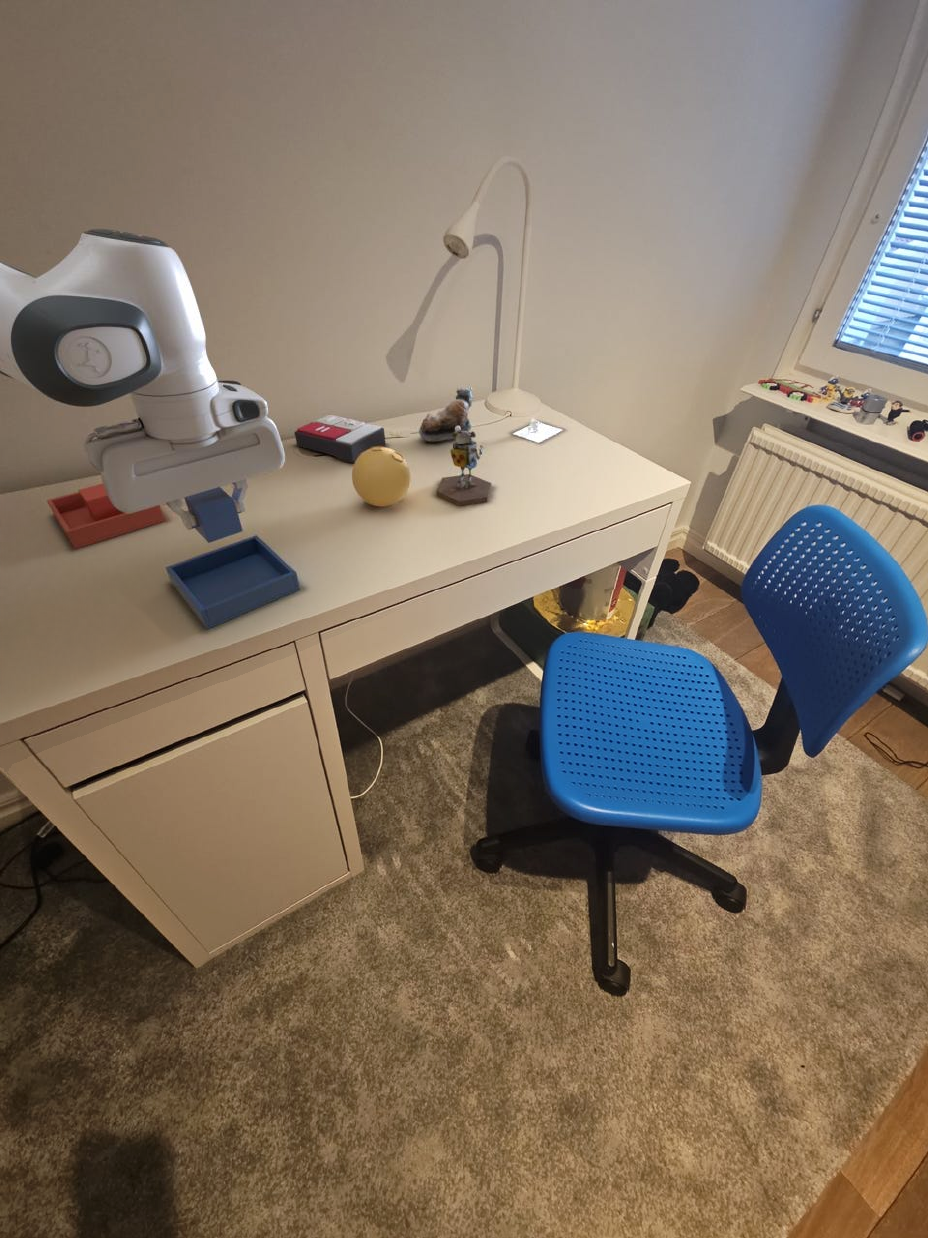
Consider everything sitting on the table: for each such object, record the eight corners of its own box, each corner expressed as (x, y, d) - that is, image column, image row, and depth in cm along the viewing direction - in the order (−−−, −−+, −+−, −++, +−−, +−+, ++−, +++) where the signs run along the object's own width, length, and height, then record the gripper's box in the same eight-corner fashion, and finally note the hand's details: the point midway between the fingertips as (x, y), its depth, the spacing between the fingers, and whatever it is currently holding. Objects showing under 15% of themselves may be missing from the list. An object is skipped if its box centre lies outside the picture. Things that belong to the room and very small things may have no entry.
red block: (98, 526, 85) (85, 500, 82) (90, 514, 88) (78, 489, 85) (128, 517, 88) (117, 492, 85) (119, 506, 90) (109, 481, 87)
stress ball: (414, 514, 92) (412, 459, 86) (356, 519, 91) (350, 463, 84) (407, 487, 100) (405, 434, 93) (353, 491, 98) (347, 437, 91)
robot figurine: (504, 493, 99) (509, 429, 91) (472, 511, 94) (475, 445, 86) (457, 474, 104) (459, 412, 96) (425, 491, 99) (424, 426, 91)
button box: (328, 412, 116) (384, 424, 110) (332, 431, 119) (386, 444, 113) (292, 428, 109) (349, 442, 103) (296, 448, 112) (352, 463, 106)
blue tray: (207, 629, 69) (200, 611, 67) (172, 584, 76) (165, 567, 74) (300, 589, 76) (296, 572, 74) (260, 551, 82) (256, 534, 81)
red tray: (75, 549, 81) (66, 532, 79) (55, 516, 88) (46, 500, 86) (165, 520, 88) (159, 504, 86) (140, 492, 95) (134, 476, 93)
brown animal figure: (426, 448, 113) (425, 399, 106) (413, 435, 117) (412, 388, 111) (477, 439, 117) (479, 392, 110) (463, 428, 122) (464, 381, 115)
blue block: (208, 543, 67) (197, 511, 64) (194, 528, 70) (183, 497, 67) (243, 531, 70) (234, 500, 67) (228, 517, 72) (219, 486, 69)
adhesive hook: (526, 432, 121) (527, 418, 119) (532, 429, 122) (534, 415, 120) (537, 436, 120) (538, 422, 117) (543, 433, 121) (545, 419, 119)
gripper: (85, 442, 52) (137, 559, 61) (279, 398, 63) (299, 504, 72) (68, 422, 56) (120, 535, 65) (255, 384, 66) (277, 486, 75)
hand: (215, 518), depth 69 cm, fingers closed on blue block, 4 cm apart
